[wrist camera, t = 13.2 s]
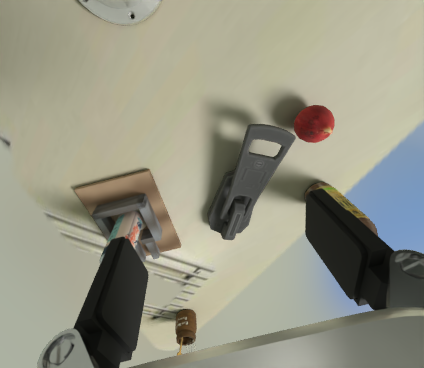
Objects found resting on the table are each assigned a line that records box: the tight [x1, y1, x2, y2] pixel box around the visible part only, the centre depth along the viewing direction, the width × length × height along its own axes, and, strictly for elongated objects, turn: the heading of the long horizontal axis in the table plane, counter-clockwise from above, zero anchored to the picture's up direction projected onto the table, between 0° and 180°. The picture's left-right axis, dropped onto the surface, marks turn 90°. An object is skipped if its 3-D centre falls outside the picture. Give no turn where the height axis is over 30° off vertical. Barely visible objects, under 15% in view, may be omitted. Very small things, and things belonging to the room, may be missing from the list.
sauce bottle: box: [305, 182, 378, 236], centre depth 38 cm, size 6×6×20 cm
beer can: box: [100, 210, 143, 264], centre depth 38 cm, size 5×5×12 cm
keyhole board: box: [74, 169, 181, 262], centre depth 43 cm, size 20×14×4 cm
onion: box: [294, 105, 334, 143], centre depth 34 cm, size 6×6×8 cm
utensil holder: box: [176, 309, 197, 355], centre depth 58 cm, size 6×6×12 cm
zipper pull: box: [208, 124, 296, 240], centre depth 40 cm, size 9×7×25 cm
